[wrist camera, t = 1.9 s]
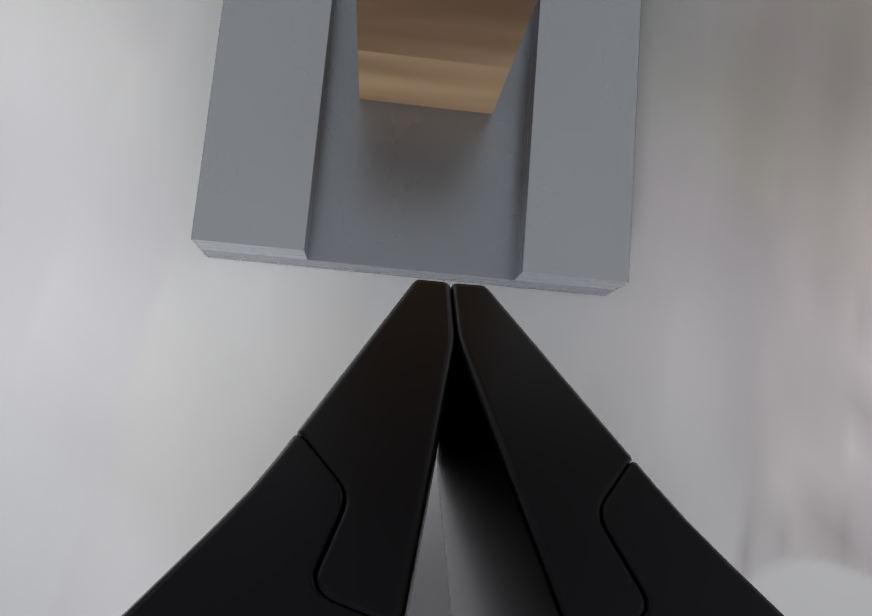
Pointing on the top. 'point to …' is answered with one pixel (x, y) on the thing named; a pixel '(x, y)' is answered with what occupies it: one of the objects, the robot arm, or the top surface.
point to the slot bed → (423, 154)
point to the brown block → (438, 50)
